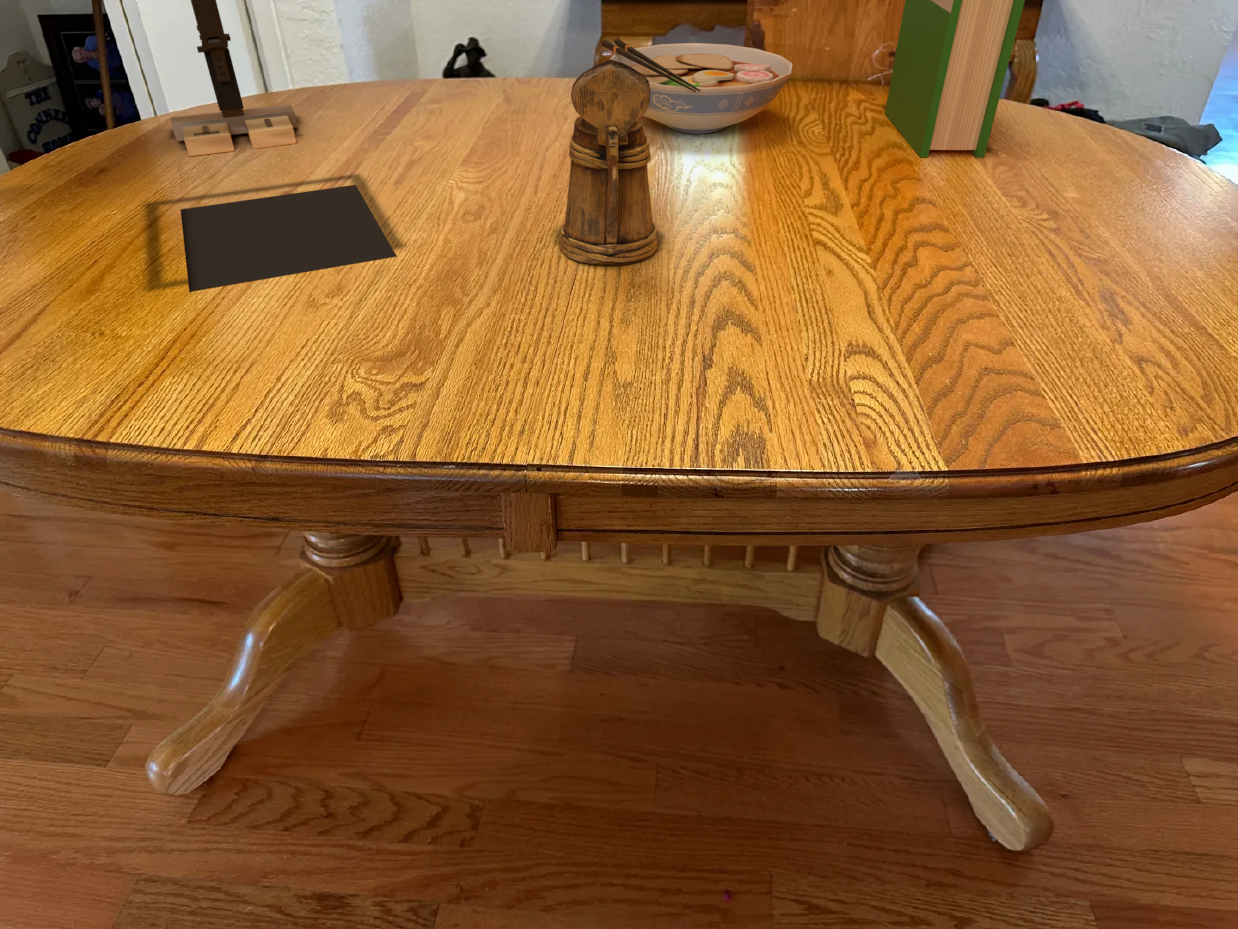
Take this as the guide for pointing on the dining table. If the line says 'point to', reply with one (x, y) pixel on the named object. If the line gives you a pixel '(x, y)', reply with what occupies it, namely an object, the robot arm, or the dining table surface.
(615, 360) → the dining table surface
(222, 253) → the mat
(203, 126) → the tile
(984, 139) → the hardback book
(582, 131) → the wooden mug
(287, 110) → the scraper
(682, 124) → the ramen bowl
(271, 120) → the tile
